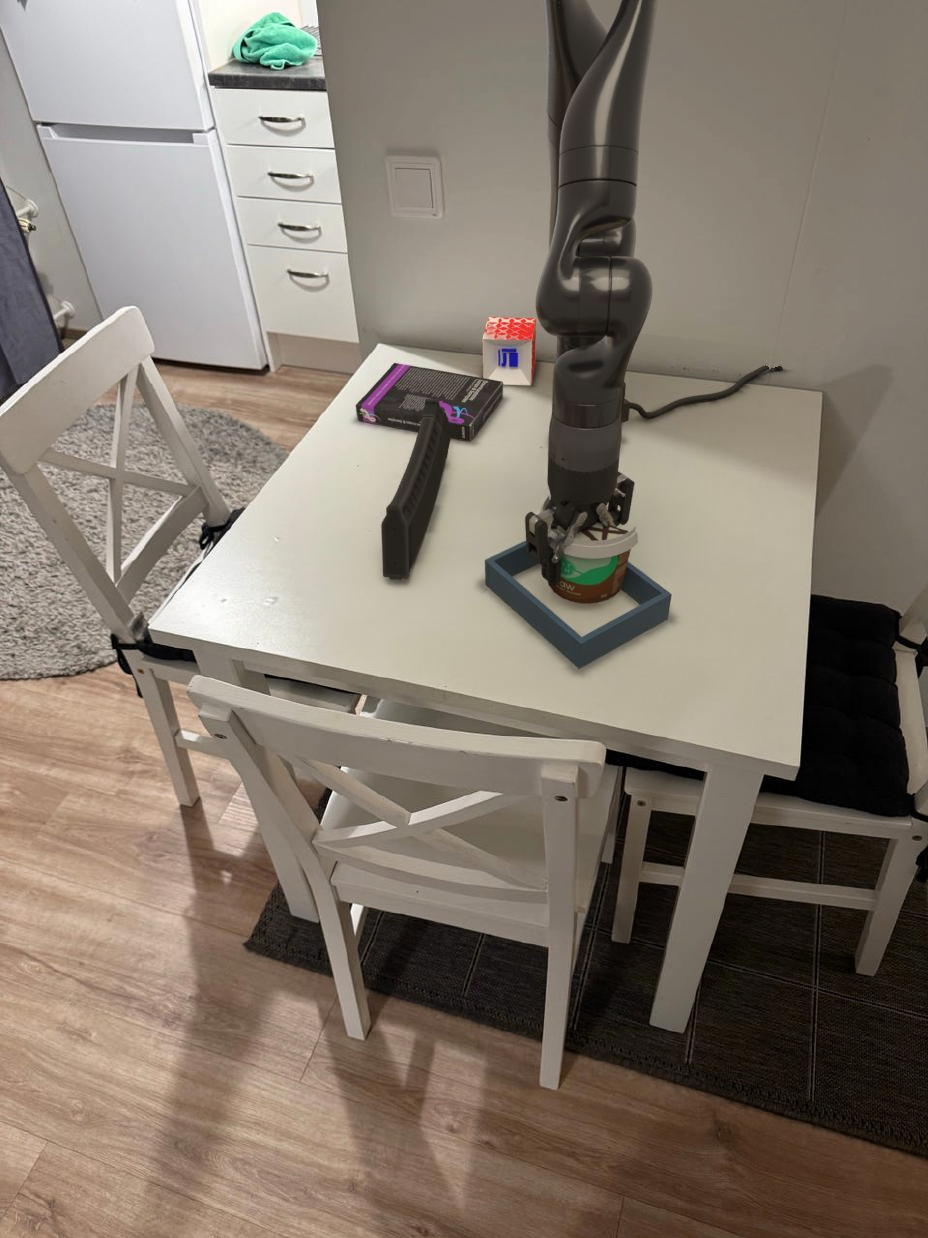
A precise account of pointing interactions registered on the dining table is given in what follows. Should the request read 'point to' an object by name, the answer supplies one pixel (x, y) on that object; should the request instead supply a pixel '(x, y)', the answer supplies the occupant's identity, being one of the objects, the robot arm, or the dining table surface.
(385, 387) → the box
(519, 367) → the white and red cube
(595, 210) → the robot arm
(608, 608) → the dining table surface
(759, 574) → the dining table surface
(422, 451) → the magazine
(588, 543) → the food container
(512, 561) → the blue rectangular frame
